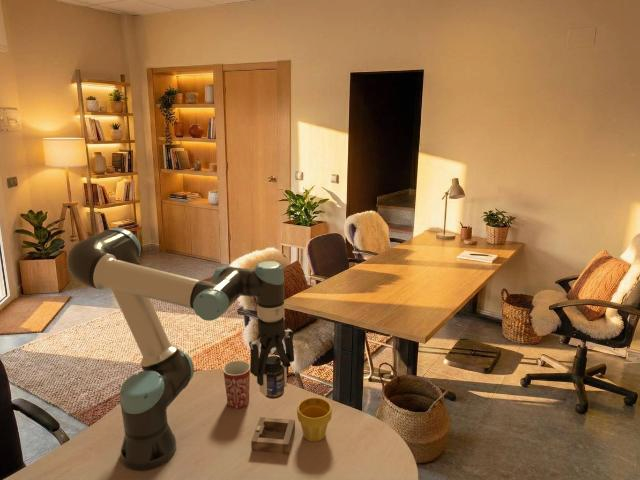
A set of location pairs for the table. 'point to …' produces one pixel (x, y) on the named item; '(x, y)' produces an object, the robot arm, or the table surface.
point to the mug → (237, 383)
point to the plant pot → (314, 417)
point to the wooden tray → (273, 444)
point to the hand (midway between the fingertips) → (273, 388)
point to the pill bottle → (274, 377)
